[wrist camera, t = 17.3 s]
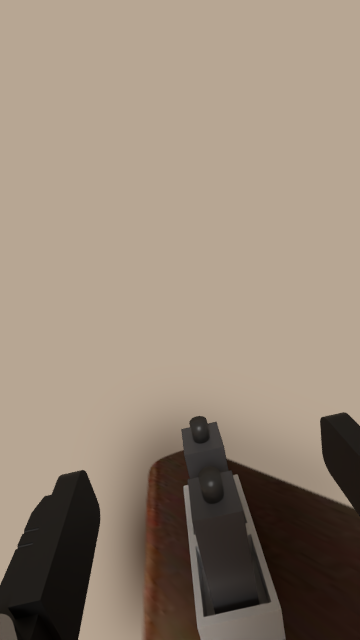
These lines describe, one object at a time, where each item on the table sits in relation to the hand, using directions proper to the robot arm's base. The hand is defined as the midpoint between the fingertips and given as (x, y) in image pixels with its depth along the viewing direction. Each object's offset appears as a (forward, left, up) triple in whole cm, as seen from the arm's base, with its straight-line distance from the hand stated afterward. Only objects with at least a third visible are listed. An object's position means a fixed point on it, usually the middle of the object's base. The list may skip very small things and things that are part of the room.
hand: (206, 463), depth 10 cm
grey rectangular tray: (-6, -13, -27) cm, 31 cm away
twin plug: (-8, -16, -27) cm, 32 cm away
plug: (-5, -10, -27) cm, 29 cm away
